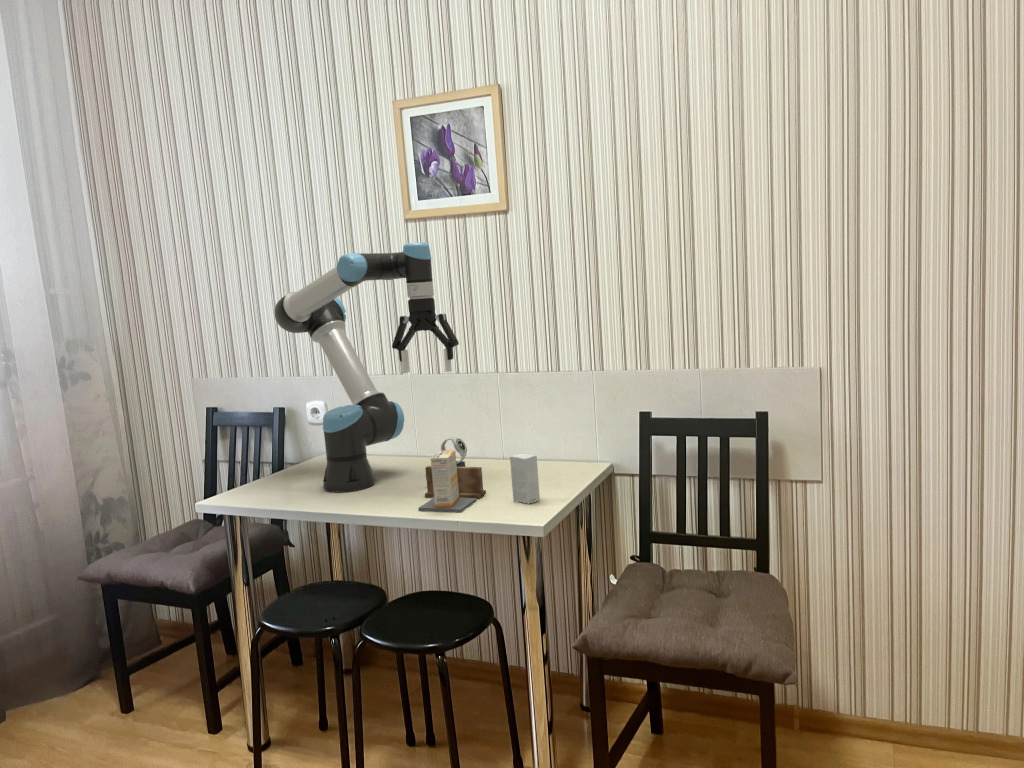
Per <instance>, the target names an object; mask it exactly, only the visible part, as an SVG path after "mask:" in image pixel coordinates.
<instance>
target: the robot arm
mask: <svg viewBox="0 0 1024 768" xmlns="http://www.w3.org/2000/svg"><path fill="white" fill-rule="evenodd" d="M402 249H403V250H402V251H401V252H379V253H377V252H375V253H367V252H366V253H360V252H359V253H358V252H350V253H345V254H342V255H340V257H339V259H338V261H337V262H336V266H335V267H333V268H331V269H330V270H328V271H327V272H326V273H324V274H322V275H321V276H320V277H318V278H316V279H315V280H313V281H311V282H310V283H309V284H307V285H306V286H304V287H302V288H301V289H299V290H298V291H291V292H289V293H287V294H286V295H284V296H283V297H281V298H280V299H279V300H278V301H277V302H276V304H275V306H274V307H275V308H274V312H273V314H274V319H275V322H276V323H277V325H278V326H279V327H280V328H281V329H283V330H285V331H286V332H288V333H293V334H301V333H302V334H303V333H308V335H309V337H310V339H311V341H312V342H314V343H317V344H319V345H320V347H321V349H322V351H323V352H324V354H325V356H326V358H327V359H328V362H329V363H330V365H331V367H332V369H333V370H334V372H335V374H336V376H337V378H338V380H339V382H340V384H341V385H342V387H343V389H344V392H346V395H347V396H348V398H349V400H350V402H351V404H348V405H344V406H341V405H340V406H338V407H334V408H332V409H330V410H328V411H326V412H325V413H324V415H323V417H322V430H323V435H324V444H325V445H324V446H325V456H326V457H325V458H326V467H325V471H324V476H323V480H322V486H323V490H324V489H325V490H324V491H326V490H327V491H326V492H329V491H335V492H334V493H342V492H341V491H348V492H355V491H360V490H363V489H367V488H369V486H370V487H372V486H374V485H375V483H376V477H375V473H374V471H373V469H372V466H371V464H370V463H369V459H368V457H367V456H368V454H367V447H369V446H372V445H375V444H380V443H384V442H389V441H391V440H393V439H395V438H398V437H399V436H400V435H401V434H402V432H403V429H404V425H405V424H404V423H405V415H404V411H403V408H402V406H401V405H400V404H399V403H397V402H395V401H392V400H389V399H388V397H387V396H386V394H385V393H384V392H383V391H378V390H377V388H376V386H375V384H374V383H373V381H372V379H371V378H370V376H369V373H368V372H367V370H366V368H365V367H364V365H363V363H362V361H361V359H360V358H359V356H358V353H356V351H355V348H354V347H353V345H352V343H351V342H350V339H349V338H348V336H347V334H346V332H345V331H344V330H345V328H346V319H347V315H346V314H345V313H346V309H345V305H344V304H343V302H342V301H341V300H340V298H339V297H340V296H342V295H343V294H345V293H346V292H348V291H350V290H351V289H353V288H355V287H357V286H358V285H360V284H362V283H363V282H366V281H382V280H384V281H392V280H398V279H399V280H400V279H405V282H406V283H405V284H406V292H407V293H406V294H407V295H406V296H407V298H409V299H408V300H407V306H408V308H407V309H408V313H409V316H407V315H401V316H399V319H398V320H399V323H398V327H397V330H396V333H395V336H394V339H393V341H392V345H391V348H392V349H395V350H397V351H398V359H399V362H401V364H402V365H401V366H402V373H403V374H407V373H410V371H411V370H410V369H411V368H410V359H409V358H410V356H409V350H408V349H407V346H408V345H409V343H410V342H411V341H412V339H413V337H414V335H415V334H416V333H417V332H421V331H424V332H425V331H426V332H427V331H430V332H431V333H433V335H434V336H435V337H436V338H437V339H438V340H439V341H440V342H441V343H442V345H443V346H444V347H445V348H443V360H444V371H445V373H448V372H452V371H453V370H452V369H453V367H452V366H453V365H452V360H454V347H456V346H459V343H460V342H459V340H458V338H457V337H456V335H455V333H454V332H453V329H452V327H451V326H450V324H449V322H448V318H447V314H446V313H439V314H436V304H435V299H434V298H435V297H433V296H434V295H435V291H434V281H433V280H434V279H433V270H432V269H433V267H432V266H433V265H432V255H431V248H430V245H429V244H428V243H427V242H409V243H405V244H403V246H402ZM436 321H437V322H438V323H439V324H440V326H441V328H442V330H443V332H444V333H445V334H444V333H443V332H442V330H441V329H440V327H439V326H438V325H437V323H436ZM409 323H410V326H409V328H408V330H407V333H406V334H405V331H406V329H407V326H408V324H409ZM373 484H374V485H373ZM354 490H355V491H354ZM336 491H337V492H336ZM338 491H340V492H338Z"/></svg>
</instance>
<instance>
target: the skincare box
mask: <svg viewBox="0 0 1024 768" xmlns="http://www.w3.org/2000/svg"><path fill="white" fill-rule="evenodd" d="M509 462H510V474H511V476H510V478H511V486H512V487H511V488H512V490H511V491H512V501H513V500H514V501H513V502H516V501H519V502H518V503H521V502H523V503H522V504H526V503H528V504H527V505H530V504H529V503H531V504H534V503H536V501H537V502H539V501H540V500H541V497H540V495H541V494H540V484H539V483H540V482H539V472H538V457H537V455H534V454H527V453H518V454H514V455H510V456H509ZM533 502H534V503H533Z"/></svg>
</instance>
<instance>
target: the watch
mask: <svg viewBox="0 0 1024 768" xmlns="http://www.w3.org/2000/svg"><path fill="white" fill-rule="evenodd" d="M448 441H451V442H452V444H453V447H454V450H455V452H457V453H458V454H459V455H460V457H461V458H460V460H456V465H457V467H466V461H465V459H466V457H467V451H468V447H467V445H466V443H465V442H464V441H463V439H461V438H458V437H454V436H453V437H448V438H447V439H445V440H444V441H442V443H441V444H440V451H447V449H446V447H445V446H446V443H447V442H448Z"/></svg>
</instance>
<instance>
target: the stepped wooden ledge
mask: <svg viewBox="0 0 1024 768" xmlns="http://www.w3.org/2000/svg"><path fill="white" fill-rule="evenodd" d="M482 470H483V469H482V466H465V467H457V477H458V488H459V498H477V499H479V500H481V499H482V498H483V497H485V496H486V495H487V491H486V489H484V481H483V471H482ZM425 479H426V492H425V493H424V498H425V499H433V498H434V489H433V478H432V468H431V465H427V466H426V467H425ZM485 494H486V495H485ZM484 495H485V496H484ZM480 498H481V499H480Z"/></svg>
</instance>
